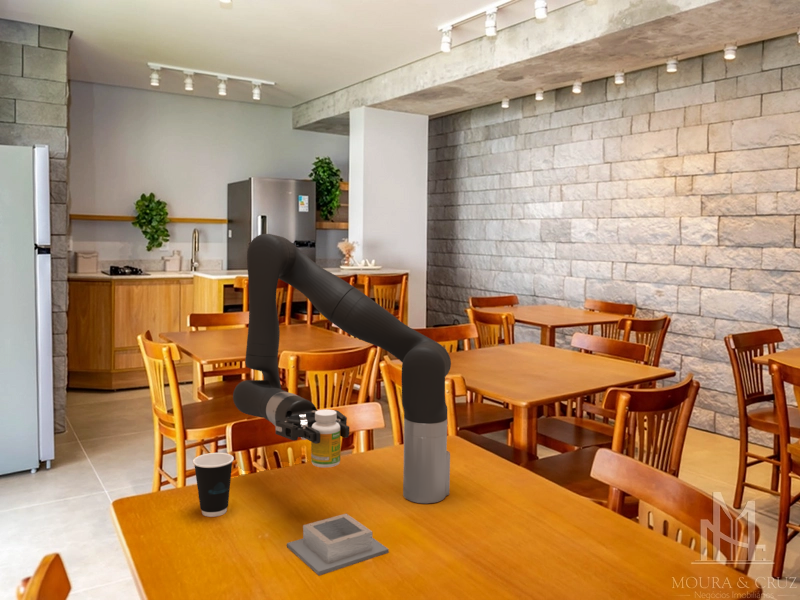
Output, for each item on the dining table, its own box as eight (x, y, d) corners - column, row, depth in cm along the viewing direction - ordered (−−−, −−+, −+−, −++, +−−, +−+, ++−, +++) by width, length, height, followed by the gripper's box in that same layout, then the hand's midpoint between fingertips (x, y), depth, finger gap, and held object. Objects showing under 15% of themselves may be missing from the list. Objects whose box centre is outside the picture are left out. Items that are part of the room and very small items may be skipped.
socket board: (353, 530, 127) (353, 507, 127) (388, 555, 117) (388, 531, 117) (287, 549, 119) (286, 525, 119) (318, 578, 109) (318, 552, 109)
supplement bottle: (335, 469, 120) (335, 417, 119) (307, 466, 121) (306, 415, 120) (343, 459, 125) (344, 409, 124) (317, 456, 126) (316, 407, 125)
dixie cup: (218, 523, 128) (217, 468, 127) (185, 516, 131) (184, 462, 130) (242, 507, 136) (241, 455, 135) (210, 501, 138) (209, 450, 137)
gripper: (257, 400, 129) (297, 421, 116) (322, 390, 138) (366, 409, 124) (258, 437, 130) (297, 462, 116) (322, 425, 139) (366, 447, 125)
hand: (332, 435), depth 120 cm, fingers closed on supplement bottle, 5 cm apart
